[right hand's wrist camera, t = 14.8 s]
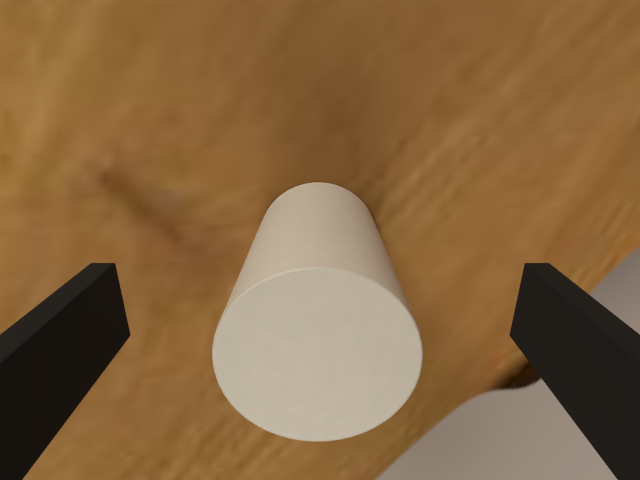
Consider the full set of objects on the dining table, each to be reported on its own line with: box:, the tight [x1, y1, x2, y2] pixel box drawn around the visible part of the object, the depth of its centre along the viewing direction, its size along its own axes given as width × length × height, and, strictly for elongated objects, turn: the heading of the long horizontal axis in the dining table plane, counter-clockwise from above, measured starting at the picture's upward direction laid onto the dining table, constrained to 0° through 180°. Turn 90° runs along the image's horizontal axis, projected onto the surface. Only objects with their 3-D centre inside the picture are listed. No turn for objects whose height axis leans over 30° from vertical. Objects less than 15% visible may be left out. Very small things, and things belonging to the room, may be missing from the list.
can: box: [212, 182, 423, 441], centre depth 15 cm, size 6×6×9 cm
